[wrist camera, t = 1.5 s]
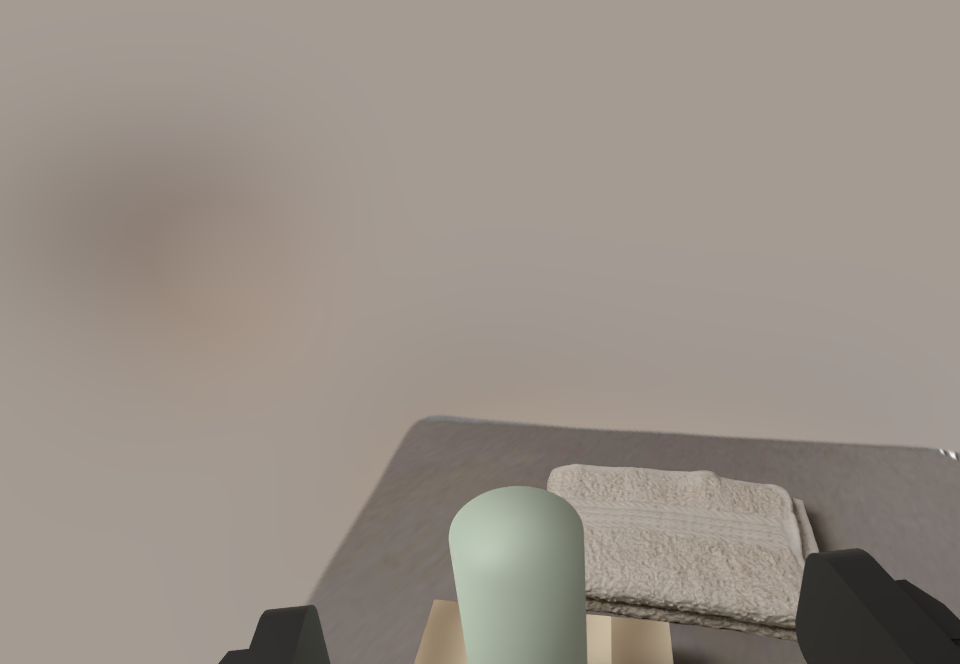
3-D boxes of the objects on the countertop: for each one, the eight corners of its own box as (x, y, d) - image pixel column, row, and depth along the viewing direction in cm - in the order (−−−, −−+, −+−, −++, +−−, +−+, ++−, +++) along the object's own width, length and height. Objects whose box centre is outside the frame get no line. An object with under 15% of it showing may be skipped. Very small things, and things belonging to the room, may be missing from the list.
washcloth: (848, 658, 32) (858, 619, 30) (525, 614, 36) (521, 577, 35) (795, 508, 42) (801, 474, 41) (549, 488, 47) (547, 457, 45)
